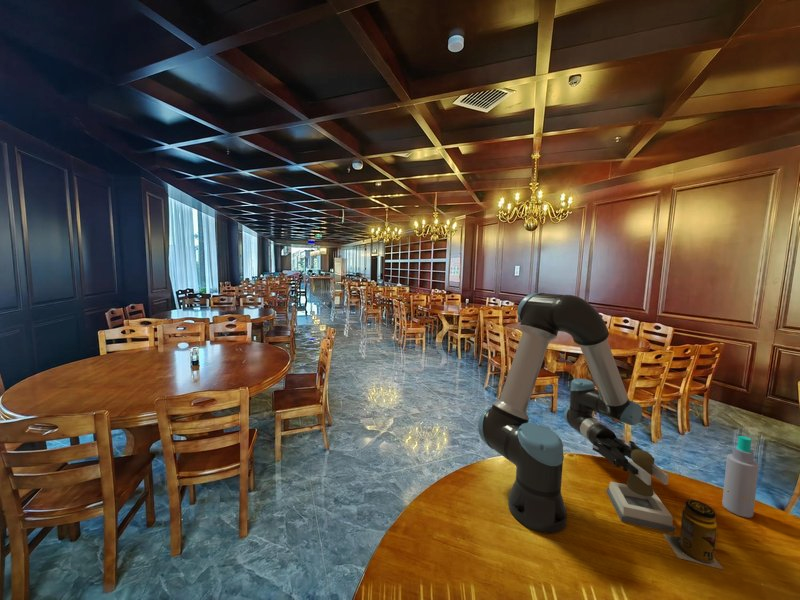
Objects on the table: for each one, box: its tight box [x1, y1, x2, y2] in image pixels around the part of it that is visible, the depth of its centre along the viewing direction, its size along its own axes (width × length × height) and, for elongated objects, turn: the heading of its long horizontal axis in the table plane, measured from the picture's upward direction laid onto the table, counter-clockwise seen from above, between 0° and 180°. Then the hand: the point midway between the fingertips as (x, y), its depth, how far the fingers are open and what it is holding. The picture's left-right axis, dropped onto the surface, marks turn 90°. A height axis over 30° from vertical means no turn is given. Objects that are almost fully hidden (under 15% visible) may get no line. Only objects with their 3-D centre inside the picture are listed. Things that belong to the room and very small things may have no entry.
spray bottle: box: [721, 435, 760, 519], centre depth 87 cm, size 6×6×22 cm
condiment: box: [662, 498, 724, 569], centre depth 74 cm, size 7×8×12 cm
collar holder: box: [606, 481, 676, 534], centre depth 87 cm, size 12×12×4 cm
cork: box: [626, 449, 655, 497], centre depth 86 cm, size 6×6×11 cm
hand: (658, 480), depth 81 cm, fingers closed on cork, 4 cm apart
